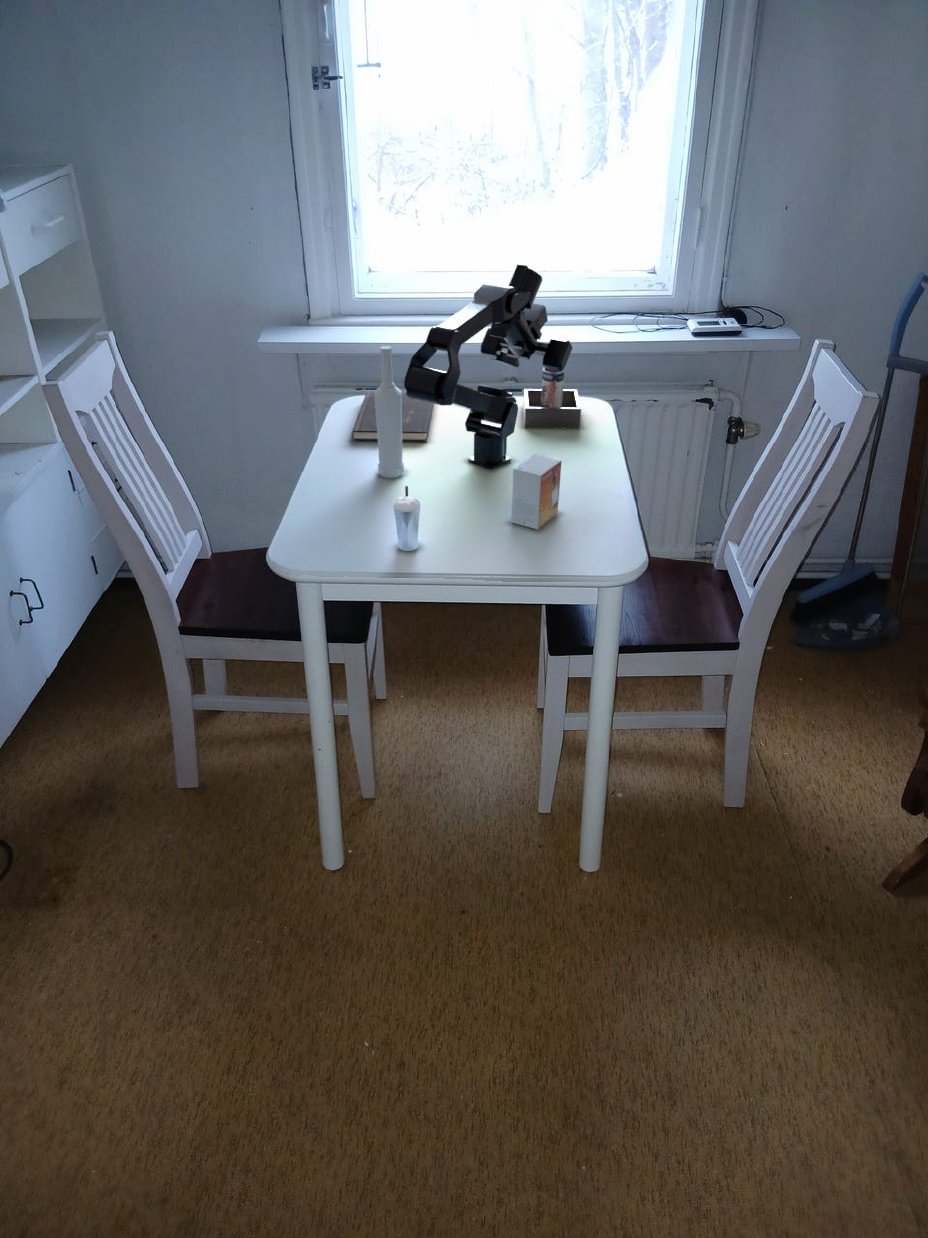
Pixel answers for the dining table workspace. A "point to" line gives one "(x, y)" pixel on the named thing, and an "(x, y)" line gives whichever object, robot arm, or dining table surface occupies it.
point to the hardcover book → (413, 420)
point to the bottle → (389, 420)
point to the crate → (551, 411)
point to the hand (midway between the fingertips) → (537, 369)
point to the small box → (535, 491)
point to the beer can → (552, 389)
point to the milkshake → (407, 521)
